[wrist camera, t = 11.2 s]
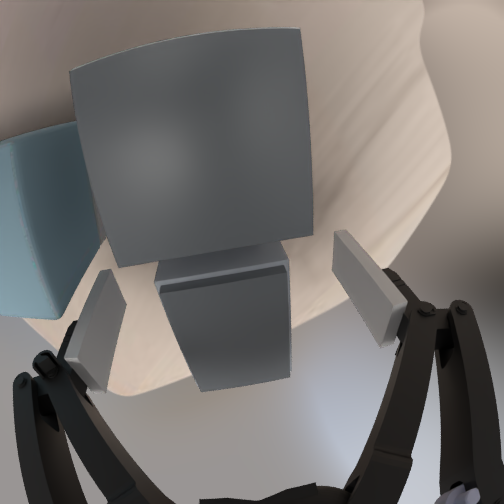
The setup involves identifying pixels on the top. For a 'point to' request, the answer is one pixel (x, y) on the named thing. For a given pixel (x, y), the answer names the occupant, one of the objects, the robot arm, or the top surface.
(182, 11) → the top surface
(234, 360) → the block
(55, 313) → the radio
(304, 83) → the block
